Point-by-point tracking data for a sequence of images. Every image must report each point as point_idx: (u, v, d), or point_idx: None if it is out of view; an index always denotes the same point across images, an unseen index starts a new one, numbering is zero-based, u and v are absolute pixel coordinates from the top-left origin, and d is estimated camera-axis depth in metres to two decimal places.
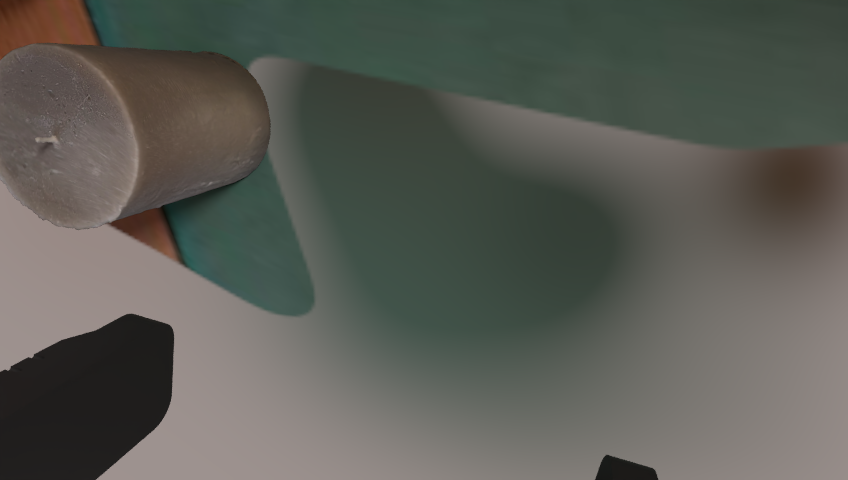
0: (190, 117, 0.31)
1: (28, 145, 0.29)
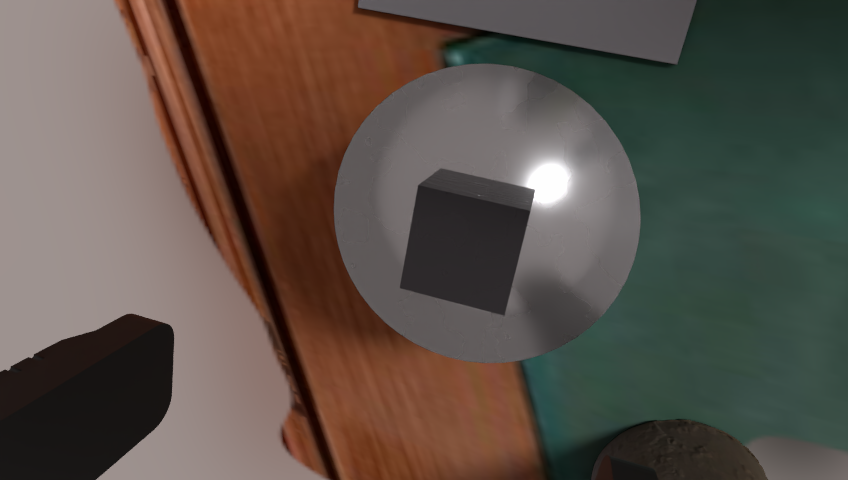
0: None
1: None
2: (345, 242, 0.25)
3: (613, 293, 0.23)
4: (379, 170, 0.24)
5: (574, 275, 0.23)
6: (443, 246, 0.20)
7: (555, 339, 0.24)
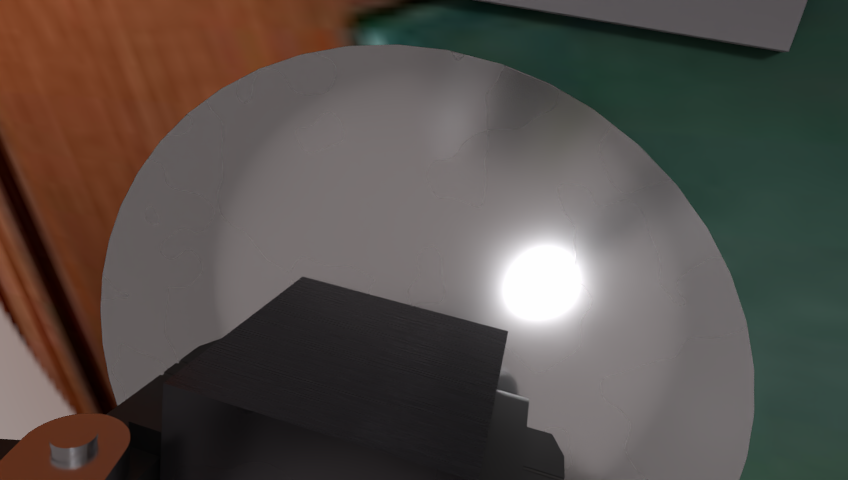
0: None
1: None
2: None
3: None
4: (180, 275, 0.11)
5: None
6: None
7: None
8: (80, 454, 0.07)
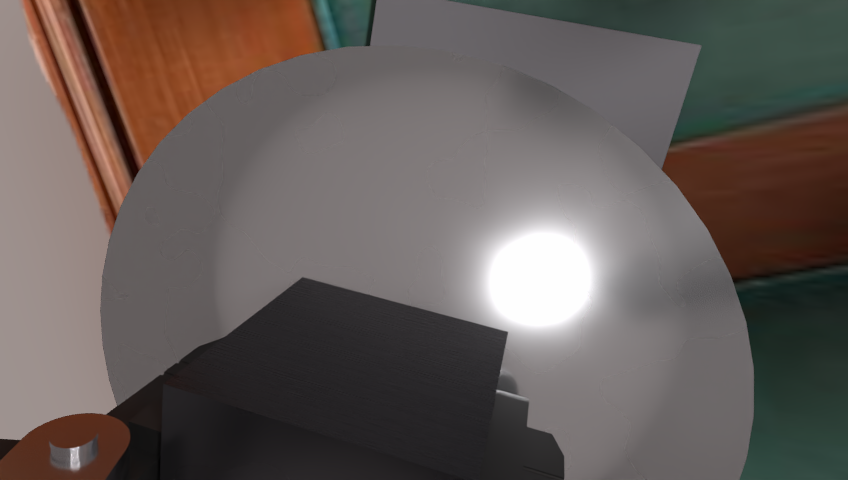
0: None
1: None
2: None
3: None
4: (180, 275, 0.11)
5: None
6: None
7: None
8: (80, 454, 0.07)
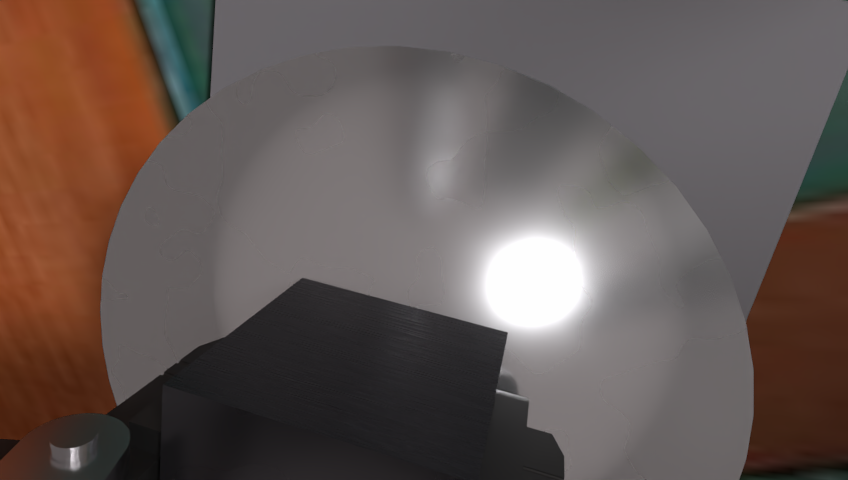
0: None
1: None
2: None
3: None
4: (179, 276, 0.11)
5: None
6: None
7: None
8: (80, 454, 0.07)
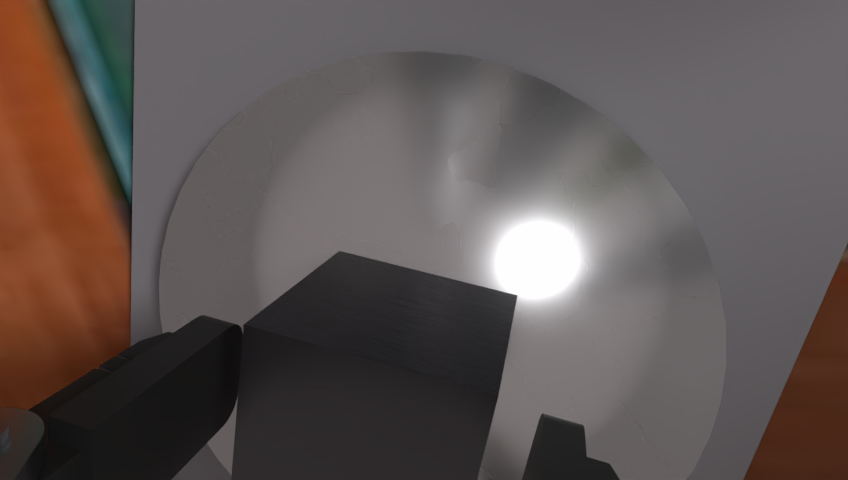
0: None
1: None
2: None
3: None
4: (231, 251, 0.13)
5: (593, 453, 0.12)
6: (308, 455, 0.09)
7: None
8: None
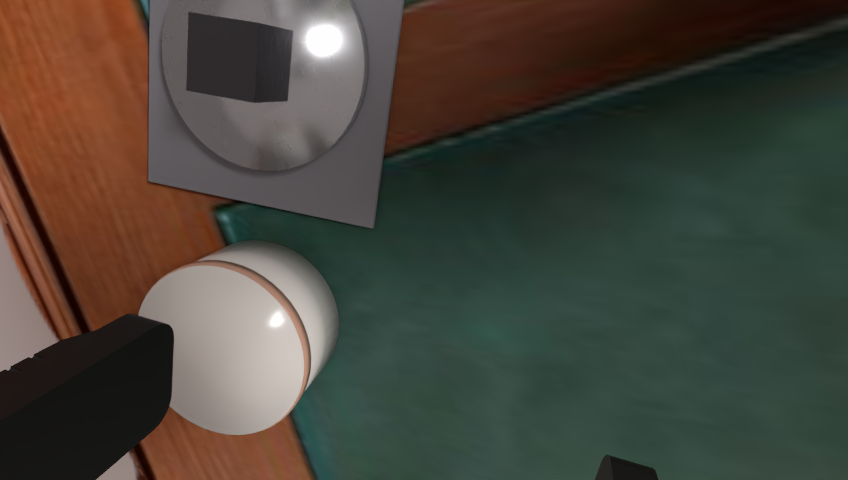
0: None
1: None
2: (172, 85, 0.34)
3: (353, 105, 0.32)
4: None
5: (326, 94, 0.32)
6: (209, 55, 0.29)
7: (321, 145, 0.33)
8: None
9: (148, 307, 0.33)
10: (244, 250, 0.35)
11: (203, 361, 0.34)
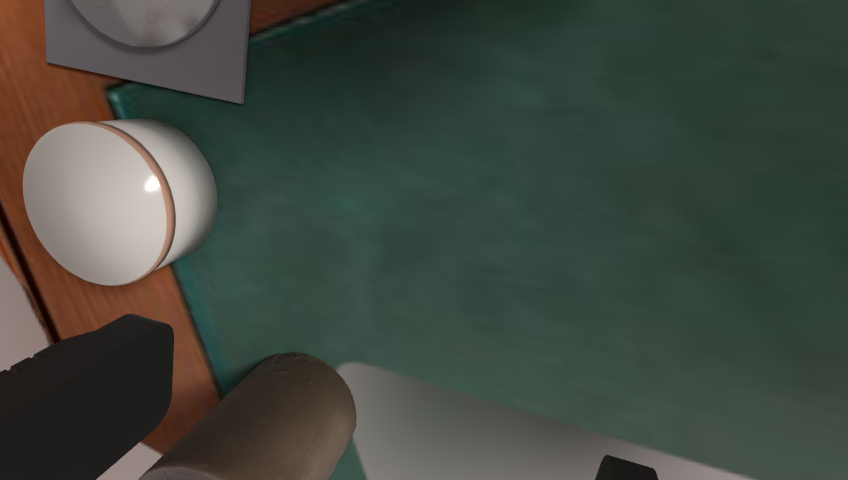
0: None
1: None
2: None
3: None
4: None
5: None
6: None
7: (189, 22, 0.37)
8: None
9: (32, 164, 0.37)
10: (124, 120, 0.39)
11: (81, 215, 0.37)
